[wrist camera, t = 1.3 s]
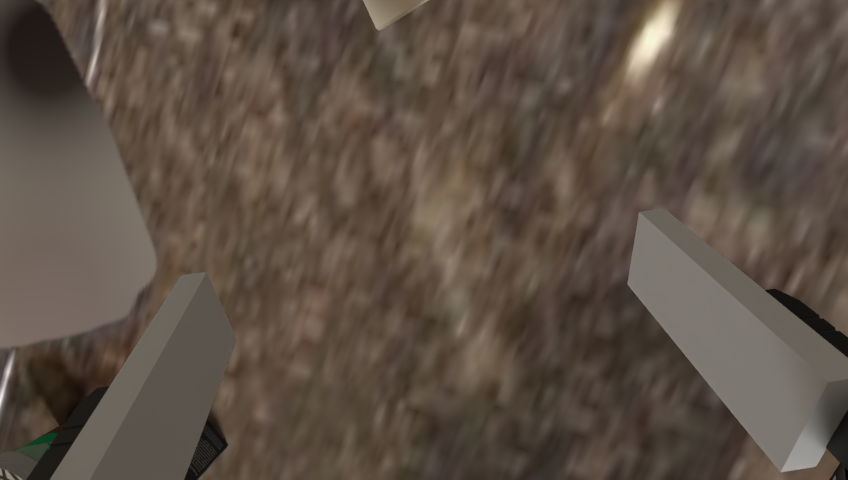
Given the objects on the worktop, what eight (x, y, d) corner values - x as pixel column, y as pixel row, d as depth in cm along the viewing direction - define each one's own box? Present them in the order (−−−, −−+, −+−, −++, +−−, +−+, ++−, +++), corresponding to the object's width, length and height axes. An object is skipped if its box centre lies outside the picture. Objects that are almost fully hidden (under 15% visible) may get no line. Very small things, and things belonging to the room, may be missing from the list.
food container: (129, 444, 64) (60, 502, 55) (120, 470, 66) (51, 530, 57) (60, 396, 65) (-20, 446, 55) (53, 424, 67) (-25, 476, 58)
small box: (185, 474, 63) (120, 542, 53) (155, 439, 62) (84, 501, 53) (231, 446, 59) (170, 515, 49) (199, 409, 58) (130, 471, 49)
